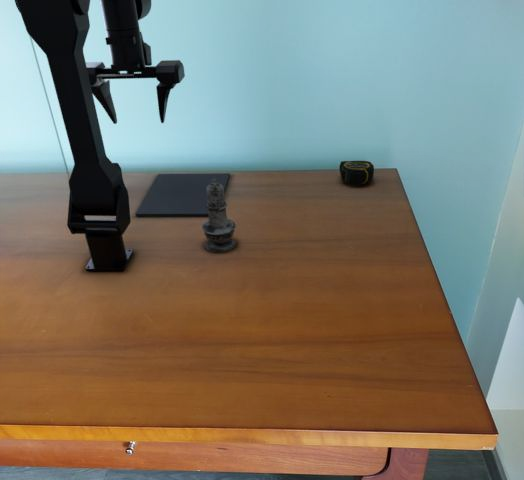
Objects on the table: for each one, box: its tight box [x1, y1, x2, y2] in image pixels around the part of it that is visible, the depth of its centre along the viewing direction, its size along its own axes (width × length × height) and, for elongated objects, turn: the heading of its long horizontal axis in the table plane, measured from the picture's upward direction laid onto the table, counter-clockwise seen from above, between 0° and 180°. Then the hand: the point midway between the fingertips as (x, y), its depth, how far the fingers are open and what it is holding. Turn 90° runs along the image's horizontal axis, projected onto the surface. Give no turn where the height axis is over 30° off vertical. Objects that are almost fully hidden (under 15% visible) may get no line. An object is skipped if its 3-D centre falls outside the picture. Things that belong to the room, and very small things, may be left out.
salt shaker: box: [201, 178, 237, 253], centre depth 88 cm, size 6×6×12 cm
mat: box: [135, 172, 231, 218], centre depth 109 cm, size 20×16×1 cm
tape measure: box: [338, 160, 375, 185], centre depth 110 cm, size 7×7×4 cm
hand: (139, 122), depth 100 cm, fingers open, 9 cm apart
